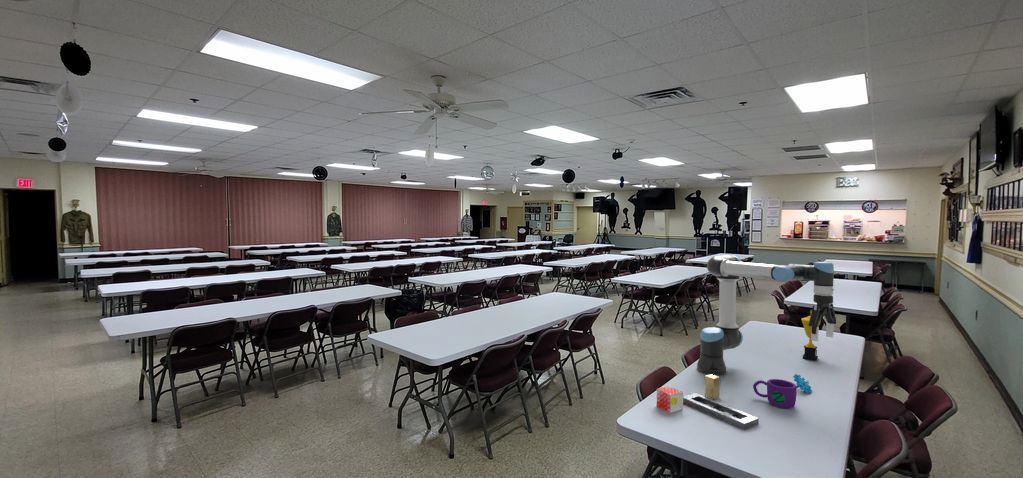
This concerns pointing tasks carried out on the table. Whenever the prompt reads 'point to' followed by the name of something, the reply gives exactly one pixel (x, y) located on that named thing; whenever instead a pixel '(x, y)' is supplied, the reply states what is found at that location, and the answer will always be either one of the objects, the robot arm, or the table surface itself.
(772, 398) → the mug
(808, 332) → the trophy
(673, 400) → the red patterned cube
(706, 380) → the brass peg
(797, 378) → the gear
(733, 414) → the rail
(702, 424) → the table surface
